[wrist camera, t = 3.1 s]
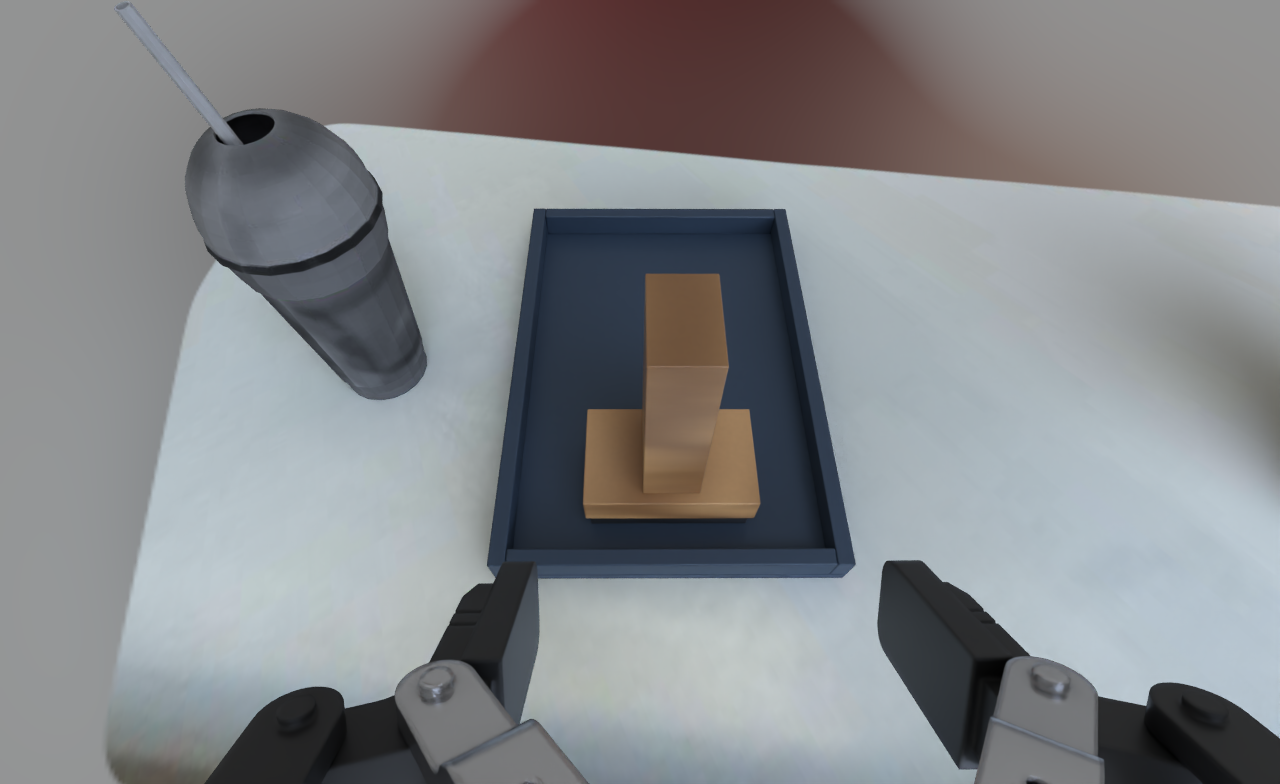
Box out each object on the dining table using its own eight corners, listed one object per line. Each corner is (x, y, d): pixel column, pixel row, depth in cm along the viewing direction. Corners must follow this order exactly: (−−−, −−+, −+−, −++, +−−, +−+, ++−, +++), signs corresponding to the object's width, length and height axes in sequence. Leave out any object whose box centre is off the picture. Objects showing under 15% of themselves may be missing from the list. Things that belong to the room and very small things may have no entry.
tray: (779, 232, 42) (785, 208, 40) (842, 578, 29) (856, 565, 27) (538, 232, 42) (533, 208, 40) (495, 578, 29) (486, 565, 27)
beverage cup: (474, 374, 35) (327, 2, 18) (357, 445, 33) (61, 88, 16) (413, 300, 38) (239, -78, 21) (302, 360, 36) (4, -17, 19)
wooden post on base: (740, 437, 32) (794, 262, 21) (750, 527, 30) (817, 380, 19) (591, 437, 32) (568, 262, 21) (587, 527, 30) (558, 380, 19)
